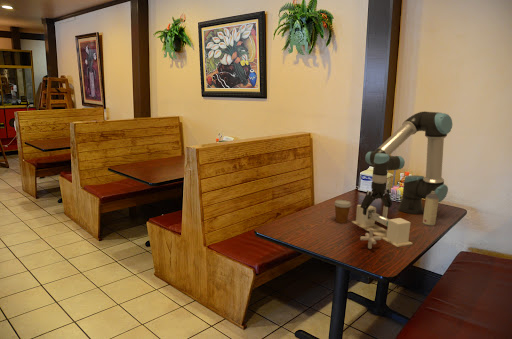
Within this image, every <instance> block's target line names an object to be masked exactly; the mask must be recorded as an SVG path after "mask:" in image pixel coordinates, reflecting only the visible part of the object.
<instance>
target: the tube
mask: <svg viewBox="0 0 512 339" xmlns="http://www.w3.org/2000/svg"><path fill="white" fill-rule="evenodd" d="M368 217H369V218H371V219H373V220H375V222H378V223H379V224H381V225H384V226H385V227H387V228H388V220H390V218H388V217H387V218H386V217H383V215H382V214H379V213H377V212H376V213H375V212H373V211H368Z"/></svg>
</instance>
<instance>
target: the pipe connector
mask: <svg viewBox="0 0 512 339" xmlns="http://www.w3.org/2000/svg"><path fill="white" fill-rule="evenodd" d="M373 230H374V229H373V228H370V231H368V232H365V234H364V235H365V236H360V237H359V239H360V241H368V242H367V249H370V250H371V249H373V245H377V241H381V240H382V238H381V236H376V235H374V234H373Z"/></svg>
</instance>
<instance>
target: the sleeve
mask: <svg viewBox="0 0 512 339" xmlns="http://www.w3.org/2000/svg"><path fill="white" fill-rule="evenodd" d="M360 206H361V204H357V205H356V215H355V221H356V222H357V223H359V224H360V225H362V226H364V227H366V226H373V225H375V222H376V221H375V220H373V219H371V218H369V217H368V220H367V221H365V220H363V215H364V214H363V208H361V207H360ZM368 211H373V212H375V213H377V207H375V206H374V205H372V204H371V205H370V206H369V207H368Z"/></svg>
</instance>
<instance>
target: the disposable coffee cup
mask: <svg viewBox="0 0 512 339" xmlns="http://www.w3.org/2000/svg"><path fill="white" fill-rule="evenodd" d="M351 206H352V204H351V201H348V200H345V199H336V200H335V201H334V207H335V210H334V211H335V222H336V223H339V224H347V223H348V222H347V221H348V218H349V212H350V209H351Z"/></svg>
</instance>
